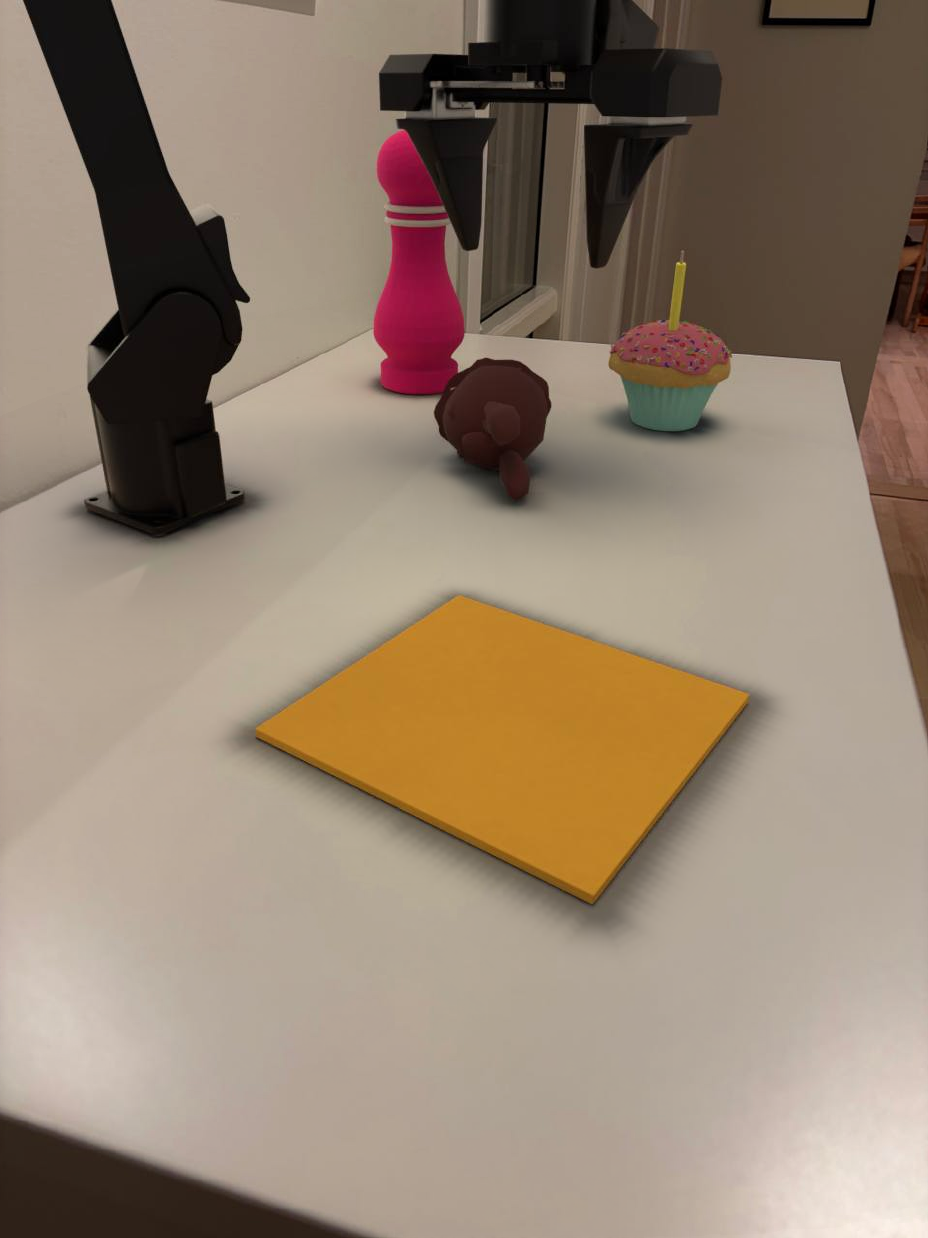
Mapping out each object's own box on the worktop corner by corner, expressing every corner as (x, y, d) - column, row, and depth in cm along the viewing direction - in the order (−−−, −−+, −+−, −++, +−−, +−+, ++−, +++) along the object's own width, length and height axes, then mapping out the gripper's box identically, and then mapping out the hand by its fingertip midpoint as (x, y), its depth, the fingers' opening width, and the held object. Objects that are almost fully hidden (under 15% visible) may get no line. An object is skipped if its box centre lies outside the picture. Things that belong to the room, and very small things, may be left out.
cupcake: (723, 444, 64) (753, 258, 58) (599, 434, 65) (615, 252, 59) (719, 408, 71) (745, 240, 65) (607, 400, 73) (622, 235, 67)
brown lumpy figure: (416, 336, 63) (431, 424, 51) (523, 308, 62) (564, 390, 50) (441, 430, 67) (460, 532, 55) (542, 404, 66) (584, 501, 54)
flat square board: (255, 737, 34) (254, 728, 34) (458, 601, 44) (458, 594, 44) (592, 905, 28) (593, 895, 27) (748, 702, 37) (750, 694, 37)
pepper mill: (362, 392, 74) (351, 102, 64) (390, 369, 80) (384, 101, 70) (451, 400, 72) (454, 104, 62) (472, 376, 78) (478, 104, 69)
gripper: (795, -79, 46) (746, 259, 54) (499, -49, 56) (494, 229, 64) (680, -110, 38) (643, 286, 46) (366, -69, 49) (378, 247, 57)
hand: (531, 258), depth 54 cm, fingers open, 9 cm apart
